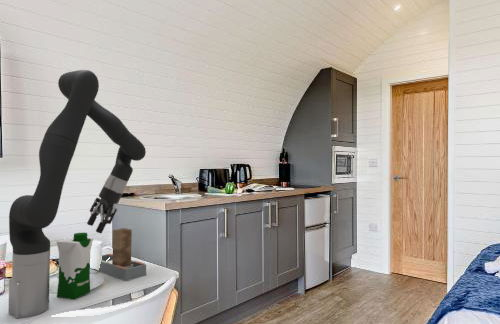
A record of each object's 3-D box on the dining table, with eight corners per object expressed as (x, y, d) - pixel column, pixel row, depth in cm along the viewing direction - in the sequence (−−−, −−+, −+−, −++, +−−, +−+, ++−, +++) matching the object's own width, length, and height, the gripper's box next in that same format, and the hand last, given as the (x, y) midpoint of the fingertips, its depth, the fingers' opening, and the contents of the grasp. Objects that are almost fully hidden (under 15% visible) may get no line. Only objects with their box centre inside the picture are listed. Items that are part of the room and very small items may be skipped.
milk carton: (75, 301, 109) (76, 236, 109) (51, 297, 111) (53, 234, 111) (94, 291, 117) (96, 231, 117) (72, 288, 120) (73, 230, 120)
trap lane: (125, 281, 128) (125, 269, 128) (88, 267, 144) (88, 257, 144) (146, 275, 136) (146, 263, 136) (108, 263, 151) (109, 253, 151)
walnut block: (119, 267, 134) (120, 231, 134) (112, 265, 137) (113, 229, 137) (131, 265, 138) (131, 229, 138) (123, 262, 141) (124, 228, 141)
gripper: (97, 181, 136) (77, 220, 133) (113, 190, 126) (92, 232, 124) (114, 187, 141) (95, 225, 139) (130, 196, 131) (110, 237, 129)
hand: (93, 228), depth 131 cm, fingers open, 8 cm apart
